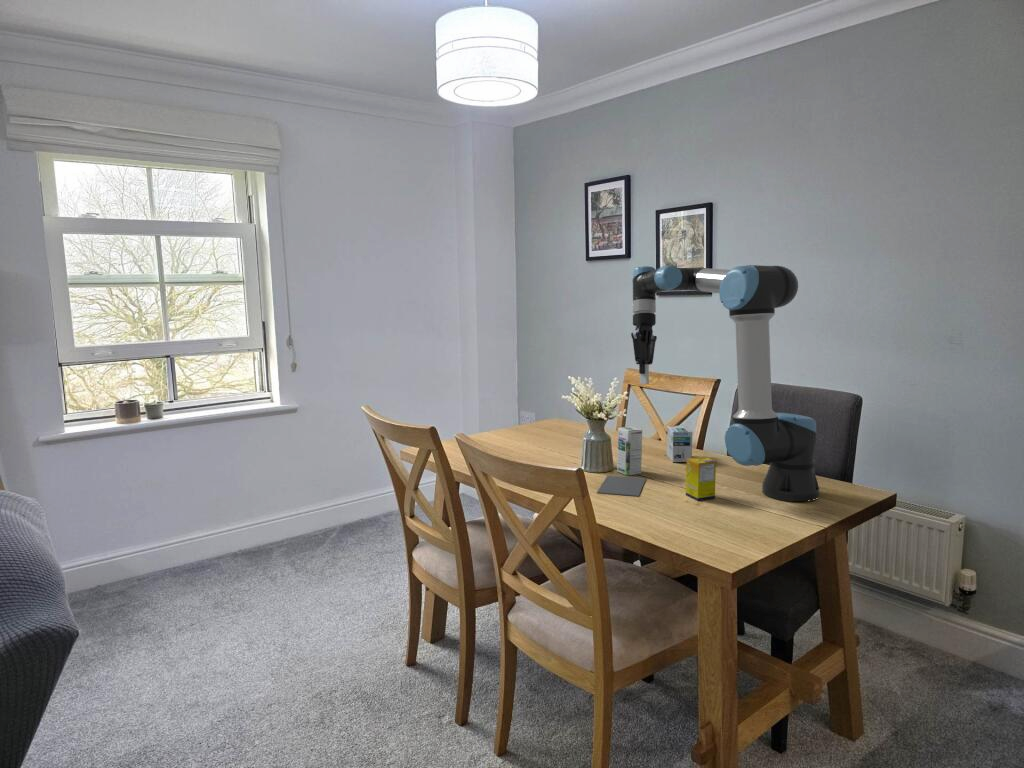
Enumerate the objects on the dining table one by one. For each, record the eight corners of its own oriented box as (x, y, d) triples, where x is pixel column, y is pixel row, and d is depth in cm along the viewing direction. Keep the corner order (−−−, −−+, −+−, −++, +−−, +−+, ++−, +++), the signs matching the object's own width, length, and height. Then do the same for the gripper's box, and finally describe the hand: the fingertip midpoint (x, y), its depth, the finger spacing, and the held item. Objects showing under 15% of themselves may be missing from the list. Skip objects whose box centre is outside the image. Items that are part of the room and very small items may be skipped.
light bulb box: (692, 463, 228) (693, 431, 227) (672, 463, 229) (673, 431, 227) (684, 455, 239) (685, 425, 237) (665, 455, 239) (666, 425, 238)
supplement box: (702, 492, 196) (703, 455, 195) (715, 498, 191) (716, 460, 189) (684, 495, 194) (685, 458, 193) (697, 501, 189) (698, 463, 187)
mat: (607, 476, 214) (607, 475, 213) (646, 479, 210) (646, 478, 210) (596, 493, 197) (596, 492, 197) (638, 496, 193) (638, 495, 193)
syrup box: (616, 471, 219) (616, 427, 216) (631, 469, 221) (631, 425, 219) (627, 476, 214) (627, 431, 211) (642, 473, 216) (643, 429, 214)
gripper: (644, 317, 234) (644, 385, 233) (624, 312, 225) (623, 383, 223) (663, 315, 229) (663, 384, 228) (644, 309, 220) (643, 382, 218)
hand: (644, 383), depth 226 cm, fingers closed
